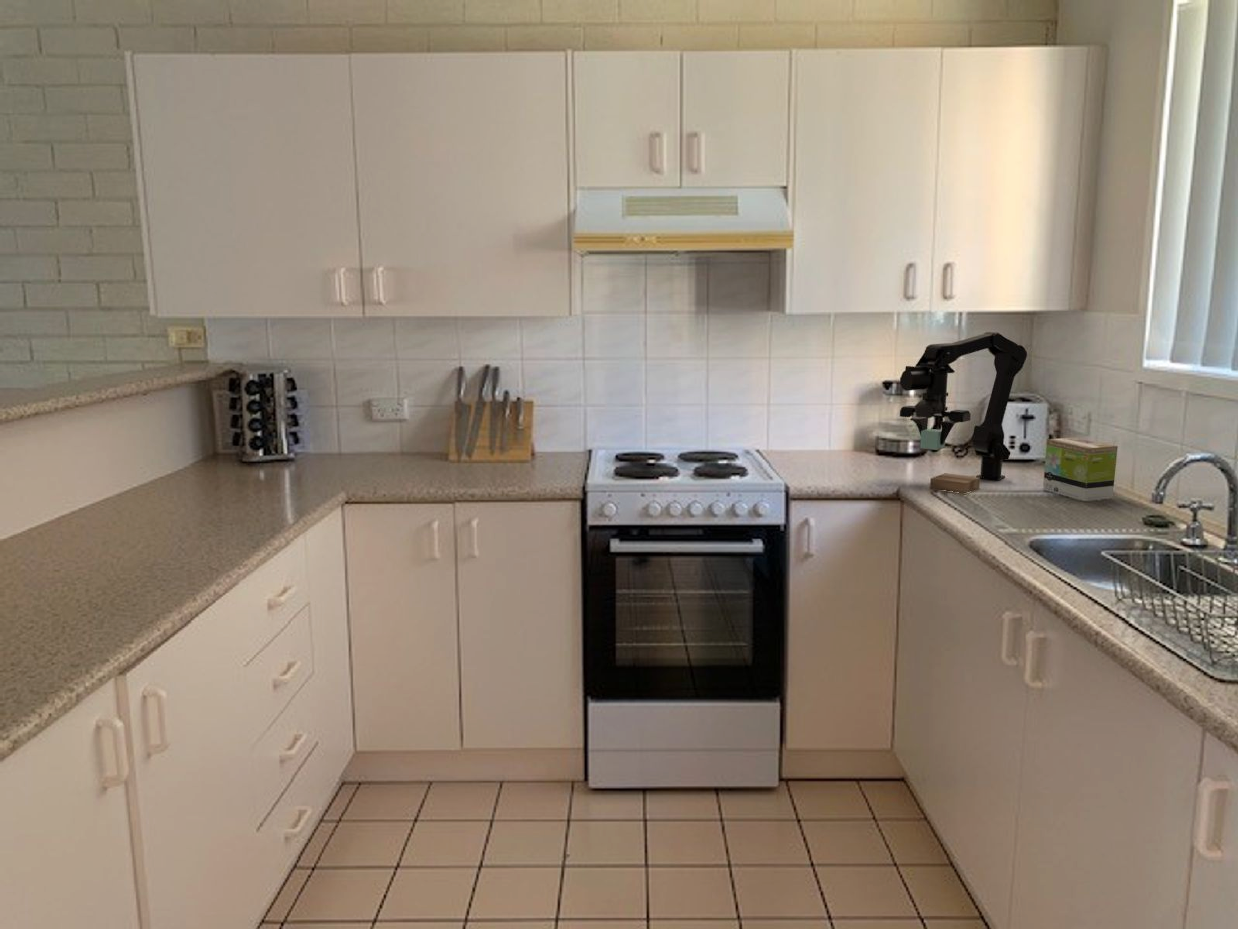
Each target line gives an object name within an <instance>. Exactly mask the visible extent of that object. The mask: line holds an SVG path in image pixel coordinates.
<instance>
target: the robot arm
mask: <svg viewBox="0 0 1238 929" xmlns="http://www.w3.org/2000/svg"><path fill="white" fill-rule="evenodd" d="M982 350H988V353H990V354H991V355H992V356H994V359H993V360H994V361H993V366H994V369H995V372H996V373H995V379H994V382H993V385H992V386H993V387H992V390H991V393H990V398H989V401H988V405H987V409H986V411H985V412H986V413H985V417H984V420H983V422H982V423H981V424H980V425H974V427H973V432H972V433H973V434H972V436H971V437H970V438H971V439H970V440H972V441H971V445H972V447H973V449H974V453H975V455H976V456H979V457H981V461H980V462H981V463H980V474H977V475H976V476H975V477H979V478H980V479H985V480H992V481H1000V480H1002V479H1004V478H1006V475H1002V472H1003V470H1002V468H1003V461H1005V460H1009V459H1010V457H1011V451H1010V450H1009V448H1008V447H1007V445H1005V444H1004V441H1005V432H1004V428H1003V422H1004V417H1005V415H1006V410H1007V407H1008V403H1009V400H1010V395H1011V391H1012V388H1013V384H1014V379H1015V377H1016V375H1017V374H1018V373H1019V372H1021V370H1022V369H1023V367H1024V365H1025V362H1026V361H1027V357H1028V352H1027V349H1026V348H1025V347H1024V346H1023V345H1021V344H1017V343H1016V342H1014V341H1013V340H1011V339H1009V338H1007V337H1005V336H1003V334H1001V333H1000V332H998V331H997V332H996V331H995V332H994V331H986V332H984V333H983V334H979V335H975V336H972V337H969V338H965V339H962V340H959V341H956V342H951V343H949V342H948V343H946V342H945V343H932V344H928V345H926V347H925V350H924V353H923V354H922V355H921V357H920V359H919V360H918V361H917V363H916V364H915V366H912V365H905V368H904V369H905V370H903V372H902V373H901V376H900V377H899V383H900V386H901V389H902V390H903V391H908V392H909V391H922V390H923V391H925V392H923V393H922V398H921V400H919V401H918V402H917V403H916V404H915V405H906V406H902V407H901V408H900V409H899V417H902V418H910V417H911V418H910V421H913V422H914V424H915V425H916V427H917V430H918V432H919V436H920V437H921V431H923V430H927V429H928V424H929V423H928V422H929V419H931V418H942V419H944V420H943V421H940V425H941V429H940V430H941V439H940V444H941V445H943V444H944V442H945V443H946V440H947V438H948V436H949V434H950V432H951V430H952V429H953V427H954V426H955V424H958V423H966V422H969V421H971V416H972V415H971V412H970V410H966V409H965V410H964V409H953V410H950V411H948V407H947V397H949V392H947V391H948V375H949V374H954V373H955V372H956V371H955V370H954V369H953V368H952V366H951V364H952V363H954V362H956V361H957V360H958V359H959V358H960V357H962V356H965V355H969V354H973V353H976V352H980V351H982Z"/></svg>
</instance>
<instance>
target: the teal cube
mask: <svg viewBox="0 0 1238 929" xmlns="http://www.w3.org/2000/svg"><path fill="white" fill-rule="evenodd" d="M941 430H942V429H933V428H927V430H923V431H921V436H920V449H925V450H935V451H939V450H942V449H945V448H946V441H945V442H944V444H943V445H941V444H940V439H941Z"/></svg>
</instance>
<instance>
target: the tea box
mask: <svg viewBox="0 0 1238 929" xmlns="http://www.w3.org/2000/svg"><path fill="white" fill-rule="evenodd" d="M1118 447H1119V445H1116V444H1115V445H1114V444H1109V443H1104V442H1098V441H1095V440H1090V439H1085V438H1080V437H1074V436H1073V437H1062V438H1061V437H1060V438H1050V439H1048V438H1047V440H1046V449H1045V461H1044V462H1045V463H1044V472H1043V482H1042V483H1043V484H1042V487H1043V488H1042V490H1043V491H1045V490H1046V491H1047V492H1049V493H1050V492H1051V493H1055V494H1058V495H1061V496H1065V497H1067V496H1068V498H1070V499H1075V500H1077V501H1080V500H1082V501H1081V502H1083V501H1087V500H1098V501H1101V500H1100V499H1107V500H1111V499H1110V498H1112V499H1113V495H1114V487H1115V486H1114V485H1115V479H1116V478H1115V476H1116V468H1117V467H1116V466H1117V460H1118V459H1117V457H1118V456H1117V455H1118Z"/></svg>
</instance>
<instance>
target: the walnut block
mask: <svg viewBox="0 0 1238 929" xmlns="http://www.w3.org/2000/svg"><path fill="white" fill-rule="evenodd" d="M980 481H981V478H979V477H976V476H969V475H962V474H961V475H960V474H956V473H955V474H953V473H948V472H947V473H942V474H938V475H937V476H933V477H931V478H930V484H929V490H931V489H932V491H938V490H946V491H953V492H959V493H967V492H970V491H972V490H975V491H977V490H979V489H980V484H981V483H980ZM972 492H973V491H972ZM959 493H958V494H959ZM970 493H971V492H970Z"/></svg>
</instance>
